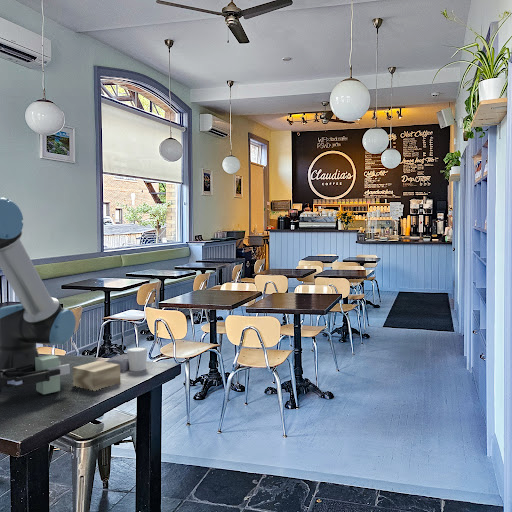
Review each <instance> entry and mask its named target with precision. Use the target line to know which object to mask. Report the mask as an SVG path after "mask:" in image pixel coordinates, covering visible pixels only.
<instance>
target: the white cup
mask: <svg viewBox="0 0 512 512" xmlns="http://www.w3.org/2000/svg"><path fill="white" fill-rule="evenodd" d="M126 354H128V363H129V370H128V371H131V372H142V371H145V370H146V369H147V356H148V347H145V346H136V347H134V346H133V347H129V348H127V349H126Z"/></svg>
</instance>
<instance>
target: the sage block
mask: <svg viewBox="0 0 512 512" xmlns="http://www.w3.org/2000/svg"><path fill="white" fill-rule="evenodd" d="M39 356H40V355H39ZM59 361H60V356H58V355H54V354H51V353H50V354H46V355H42V356H40V357H35V369H36V371H40V370H46V369H47V368H51V367H56V366H59ZM35 386H36V389H35V390H36V392H38V393H40V394H42V395H47V394H51V393H56V392H60V391H61V375H60V376H56V377H51V378H50V380H49V381H44V382H39V383H35Z"/></svg>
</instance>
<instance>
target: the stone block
mask: <svg viewBox="0 0 512 512" xmlns="http://www.w3.org/2000/svg"><path fill="white" fill-rule="evenodd" d="M104 362H108V363H113V364H119V365H120V372H127V371H130V370H129V363H128V354H127V353H123V354H120V355H119V354H117V355H114V356H112V357H110V358H108V360H105V361H104Z"/></svg>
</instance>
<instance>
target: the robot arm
mask: <svg viewBox="0 0 512 512" xmlns="http://www.w3.org/2000/svg"><path fill="white" fill-rule="evenodd" d="M23 221H24V216H23V212H22V211H21V208H20V207H19V205H17V204H16V203H15V202H14V201H13V200H11V199H9V198H6V197H2V196H1V197H0V270H1V272H2V273H3V275H4V276H5V278H6V280H7V282H8V284H9V285H10V287H11V288H12V290H13V293H14V294H15V296H16V297H17V299H18V301H19V302H20V303H19V304H18V303H17V304H11V305H6V306H2V307H0V394H1V392H2V389H3V388H4V387H6V388H12V387H14V388H15V389H18V388H21V387H24V386H30V385H35V384H36V383H39V382H44V381H49V380H50V378H51V377H56V376H60V377H61V376H65V375H69V374H71V371H70V368H71V367H70V366H71V364H70V363H67V364H62V360H59V366H56V367H51V368H47V369H46V370H40V371H36V369H35V357H40V353H39V351H38V349H37V344H40V345H51V346H56V345H58V346H59V345H60V346H61V345H65V344H66V343H68V342H69V341H70V340H71V338H72V337H73V335H74V333H75V329H76V316H75V314H74V312H73V311H72V310H71V309H68V308H63V307H62V305H61V303H60V302H59V299H57V298H56V297H52V296H51V295H50V293H49V292H48V289H47V286H45V284H44V282H43V279H42V278H41V276H40V275H39V273H38V271H37V269H36V267H35V265H34V264H33V261H32V260H31V259H32V258H30V255H29V254H28V252H27V250H26V249H25V247H24V245H23V243H22V241H21V238H22V235H23V228H24V222H23Z"/></svg>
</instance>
